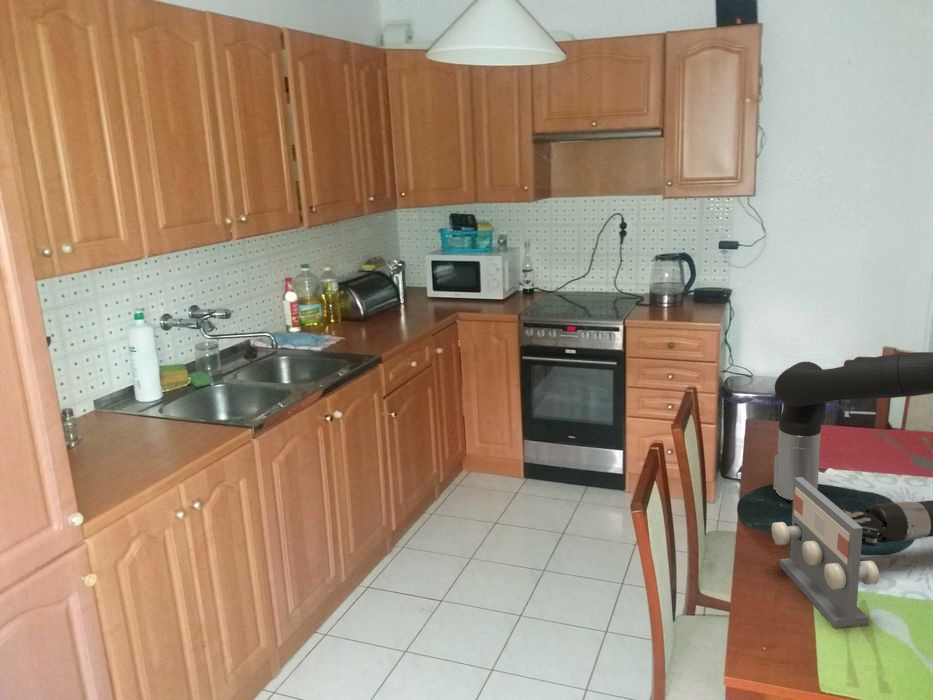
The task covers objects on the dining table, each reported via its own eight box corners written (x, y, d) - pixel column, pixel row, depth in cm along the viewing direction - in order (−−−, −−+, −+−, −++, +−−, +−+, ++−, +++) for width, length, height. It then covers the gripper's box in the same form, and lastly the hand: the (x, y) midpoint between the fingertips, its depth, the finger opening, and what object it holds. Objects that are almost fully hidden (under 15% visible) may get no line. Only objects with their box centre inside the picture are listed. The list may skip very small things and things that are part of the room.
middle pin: (840, 553, 147) (842, 533, 145) (853, 565, 142) (855, 544, 141) (801, 557, 146) (802, 537, 145) (813, 569, 142) (814, 548, 141)
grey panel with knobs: (807, 563, 156) (812, 476, 151) (866, 625, 136) (875, 526, 131) (779, 566, 156) (783, 478, 151) (834, 628, 136) (841, 529, 131)
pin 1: (808, 534, 154) (809, 514, 153) (819, 545, 150) (820, 525, 149) (771, 538, 154) (771, 518, 153) (781, 549, 149) (782, 529, 148)
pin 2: (864, 576, 139) (866, 554, 138) (879, 589, 135) (880, 567, 133) (823, 580, 138) (824, 559, 137) (836, 594, 134) (838, 572, 133)
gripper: (879, 490, 158) (799, 498, 157) (921, 520, 145) (833, 529, 144) (877, 522, 160) (797, 530, 159) (917, 555, 147) (831, 564, 146)
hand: (814, 529), depth 151 cm, fingers closed
